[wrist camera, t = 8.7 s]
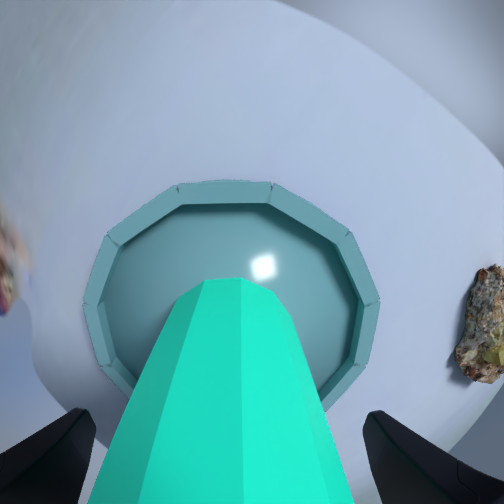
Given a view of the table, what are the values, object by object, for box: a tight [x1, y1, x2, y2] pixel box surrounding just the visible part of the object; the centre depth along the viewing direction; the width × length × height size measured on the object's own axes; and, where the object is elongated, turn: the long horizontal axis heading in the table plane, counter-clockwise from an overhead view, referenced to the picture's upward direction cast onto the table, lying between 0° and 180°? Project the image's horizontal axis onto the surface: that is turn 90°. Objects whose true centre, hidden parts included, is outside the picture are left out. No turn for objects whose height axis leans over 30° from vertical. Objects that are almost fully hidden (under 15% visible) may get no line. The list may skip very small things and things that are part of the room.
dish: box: [83, 180, 380, 412], centre depth 13 cm, size 14×14×2 cm
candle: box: [87, 277, 354, 504], centre depth 7 cm, size 6×6×12 cm
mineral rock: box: [455, 264, 504, 384], centre depth 15 cm, size 11×4×8 cm
